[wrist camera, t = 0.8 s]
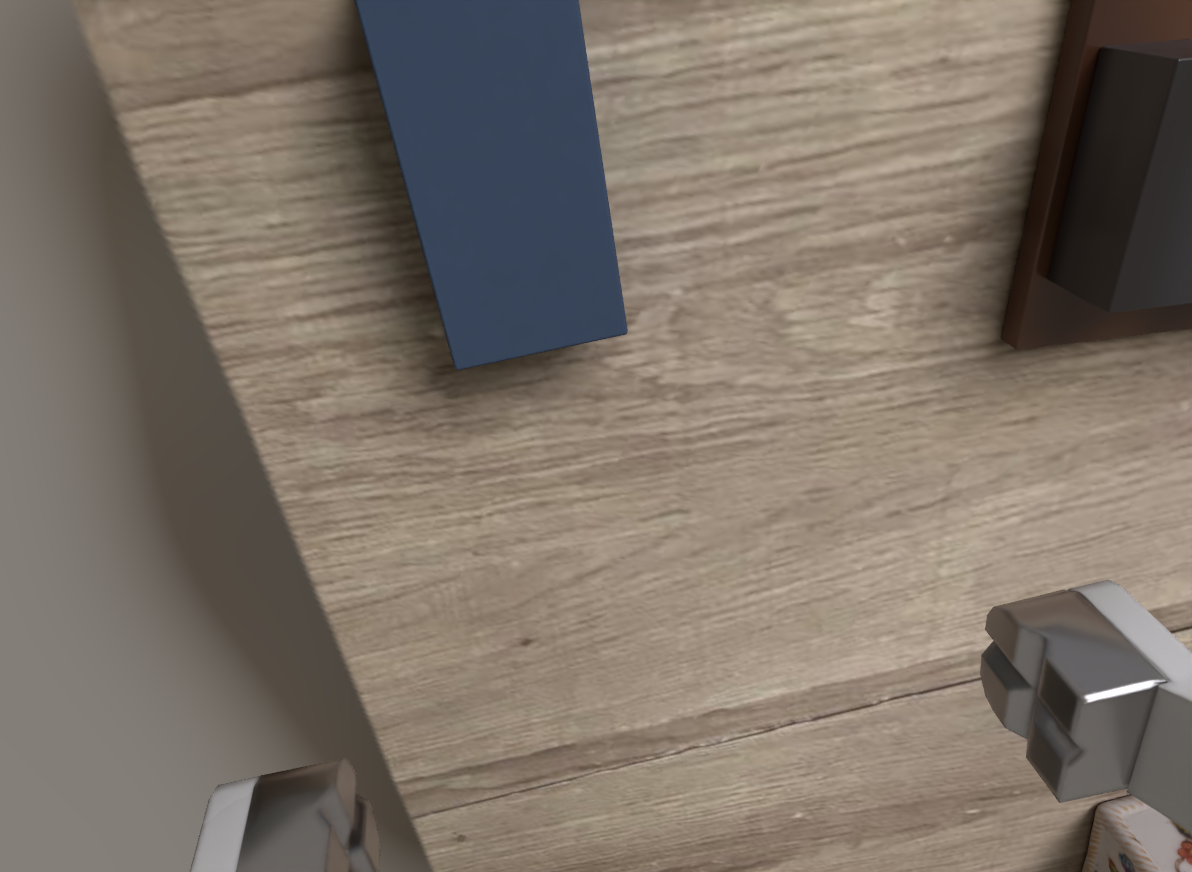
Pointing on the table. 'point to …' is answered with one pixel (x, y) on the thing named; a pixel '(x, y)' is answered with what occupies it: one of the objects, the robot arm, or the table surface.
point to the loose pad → (500, 169)
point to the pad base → (1051, 299)
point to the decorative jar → (1136, 840)
